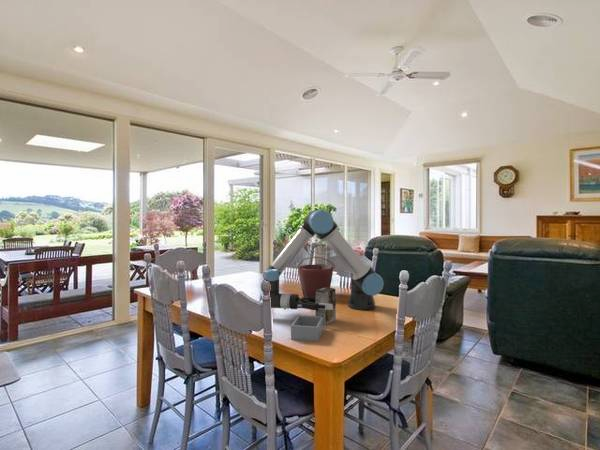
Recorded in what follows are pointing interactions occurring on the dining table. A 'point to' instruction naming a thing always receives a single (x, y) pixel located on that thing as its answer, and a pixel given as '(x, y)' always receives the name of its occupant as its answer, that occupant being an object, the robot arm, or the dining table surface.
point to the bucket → (314, 276)
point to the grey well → (307, 328)
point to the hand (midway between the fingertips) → (333, 303)
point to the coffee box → (327, 297)
